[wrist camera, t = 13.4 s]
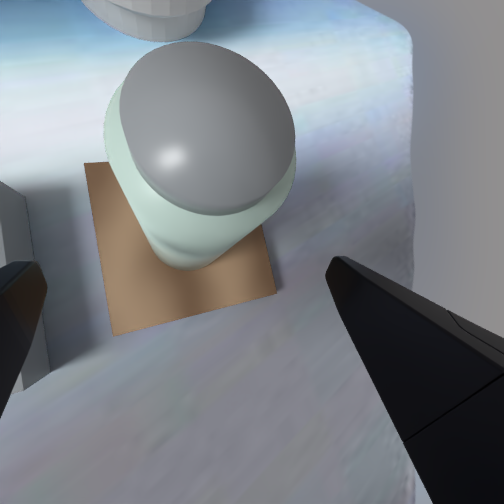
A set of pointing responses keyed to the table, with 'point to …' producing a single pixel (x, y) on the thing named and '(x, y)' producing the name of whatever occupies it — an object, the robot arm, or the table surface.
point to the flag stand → (151, 17)
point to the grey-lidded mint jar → (199, 149)
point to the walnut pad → (165, 266)
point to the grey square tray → (20, 248)
